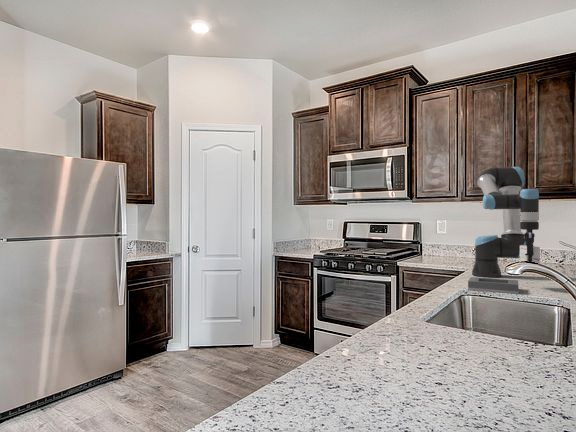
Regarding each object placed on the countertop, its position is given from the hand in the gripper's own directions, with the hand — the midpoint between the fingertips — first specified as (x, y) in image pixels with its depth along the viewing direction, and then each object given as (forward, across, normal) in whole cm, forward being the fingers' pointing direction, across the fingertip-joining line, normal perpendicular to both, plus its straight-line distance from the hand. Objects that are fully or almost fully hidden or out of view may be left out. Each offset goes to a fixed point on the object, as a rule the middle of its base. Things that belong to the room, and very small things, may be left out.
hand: (529, 267), depth 180 cm
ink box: (+1, 0, 0) cm, 1 cm away
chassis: (+9, +14, -15) cm, 22 cm away
